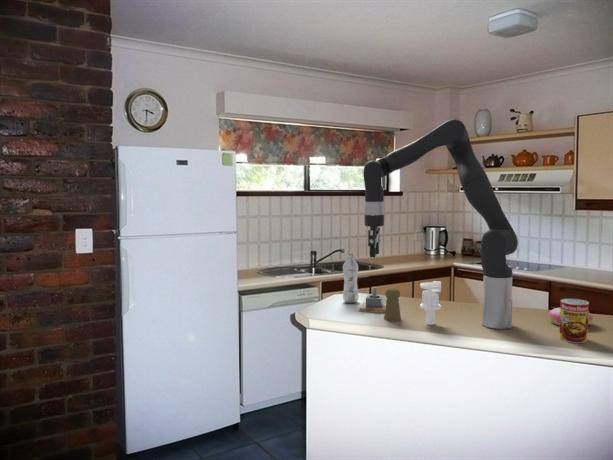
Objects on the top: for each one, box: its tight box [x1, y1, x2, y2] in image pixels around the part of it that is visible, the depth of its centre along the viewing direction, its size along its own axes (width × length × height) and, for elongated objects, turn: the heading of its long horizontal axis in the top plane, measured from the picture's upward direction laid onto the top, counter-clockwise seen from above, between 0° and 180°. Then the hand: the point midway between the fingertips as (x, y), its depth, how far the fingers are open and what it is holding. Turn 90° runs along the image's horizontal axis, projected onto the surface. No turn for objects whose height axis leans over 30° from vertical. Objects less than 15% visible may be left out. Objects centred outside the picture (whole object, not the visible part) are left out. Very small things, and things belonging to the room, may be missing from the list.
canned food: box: [558, 298, 590, 344], centre depth 165 cm, size 8×8×12 cm
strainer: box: [419, 280, 442, 326], centre depth 184 cm, size 7×7×15 cm
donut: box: [548, 307, 593, 327], centre depth 183 cm, size 14×13×5 cm
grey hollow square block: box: [365, 294, 384, 308], centre depth 206 cm, size 6×6×4 cm
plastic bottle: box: [342, 253, 360, 304], centre depth 216 cm, size 6×7×20 cm
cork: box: [383, 287, 402, 322], centre depth 191 cm, size 6×6×11 cm
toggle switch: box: [358, 287, 386, 314], centre depth 206 cm, size 10×10×8 cm
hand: (374, 255), depth 204 cm, fingers open, 8 cm apart
